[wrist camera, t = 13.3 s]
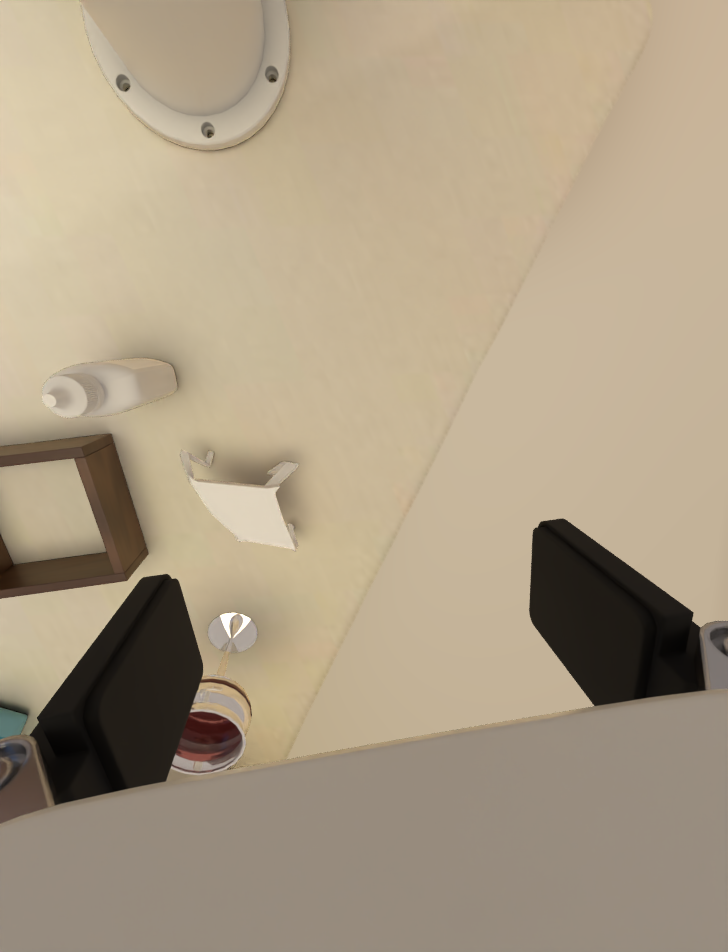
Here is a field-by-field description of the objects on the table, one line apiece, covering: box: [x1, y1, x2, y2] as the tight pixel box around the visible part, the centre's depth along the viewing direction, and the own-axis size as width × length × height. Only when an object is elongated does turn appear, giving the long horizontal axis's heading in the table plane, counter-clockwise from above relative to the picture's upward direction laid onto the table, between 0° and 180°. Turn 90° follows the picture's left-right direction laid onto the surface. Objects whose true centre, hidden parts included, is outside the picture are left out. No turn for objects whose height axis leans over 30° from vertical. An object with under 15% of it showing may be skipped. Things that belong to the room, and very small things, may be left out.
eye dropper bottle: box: [42, 358, 177, 418], centre depth 27 cm, size 4×6×12 cm
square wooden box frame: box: [0, 434, 148, 599], centre depth 33 cm, size 12×13×4 cm
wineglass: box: [171, 613, 258, 775], centre depth 36 cm, size 7×7×12 cm
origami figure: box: [180, 450, 299, 552], centre depth 34 cm, size 12×8×5 cm
